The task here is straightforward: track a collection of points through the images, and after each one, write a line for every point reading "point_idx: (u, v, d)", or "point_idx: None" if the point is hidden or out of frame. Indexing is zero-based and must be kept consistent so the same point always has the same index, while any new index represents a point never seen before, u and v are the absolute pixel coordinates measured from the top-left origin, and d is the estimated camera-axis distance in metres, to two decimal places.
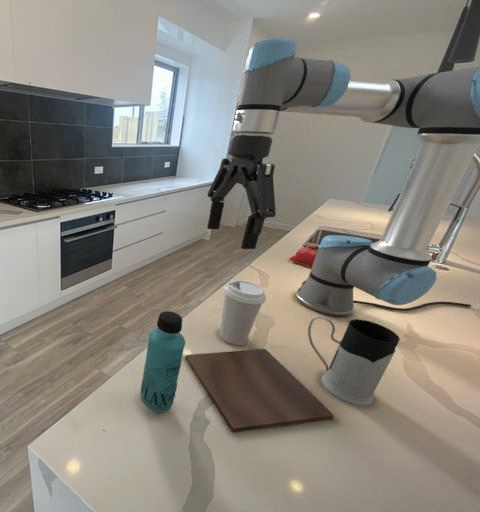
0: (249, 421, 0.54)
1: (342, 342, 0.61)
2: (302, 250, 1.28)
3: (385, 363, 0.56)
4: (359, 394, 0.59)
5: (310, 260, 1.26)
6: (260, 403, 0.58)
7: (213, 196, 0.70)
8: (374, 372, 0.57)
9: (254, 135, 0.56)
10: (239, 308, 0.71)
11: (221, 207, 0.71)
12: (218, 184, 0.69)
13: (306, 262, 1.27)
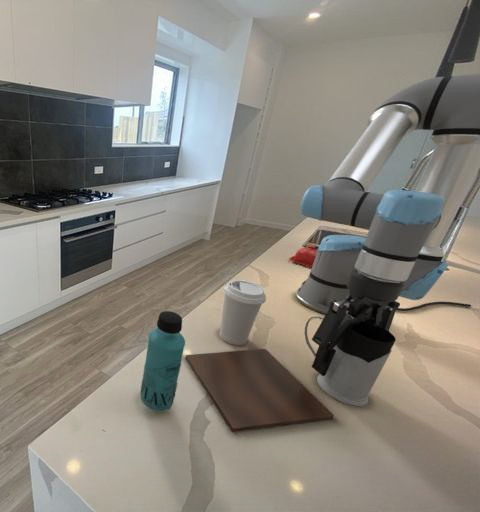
0: (249, 421, 0.54)
1: None
2: (302, 250, 1.28)
3: (381, 363, 0.56)
4: (354, 394, 0.59)
5: (310, 260, 1.26)
6: (260, 403, 0.58)
7: None
8: (370, 372, 0.57)
9: (358, 272, 0.57)
10: (239, 308, 0.71)
11: None
12: None
13: (306, 262, 1.27)
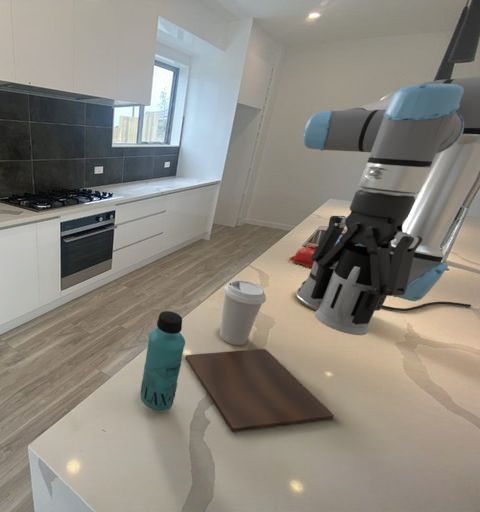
0: (249, 421, 0.54)
1: (367, 281, 0.53)
2: (302, 250, 1.28)
3: None
4: None
5: (310, 260, 1.26)
6: (260, 403, 0.58)
7: (322, 262, 0.59)
8: None
9: (396, 195, 0.47)
10: (239, 308, 0.71)
11: (331, 275, 0.60)
12: (327, 246, 0.59)
13: (306, 262, 1.27)
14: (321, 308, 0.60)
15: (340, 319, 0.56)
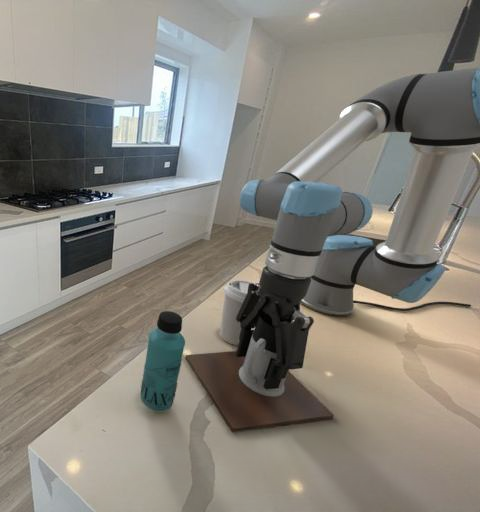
0: (249, 421, 0.54)
1: (275, 349, 0.56)
2: None
3: None
4: None
5: None
6: (260, 403, 0.58)
7: (243, 324, 0.63)
8: None
9: (292, 278, 0.50)
10: (239, 308, 0.71)
11: None
12: (247, 309, 0.63)
13: None
14: (243, 367, 0.64)
15: (256, 381, 0.60)
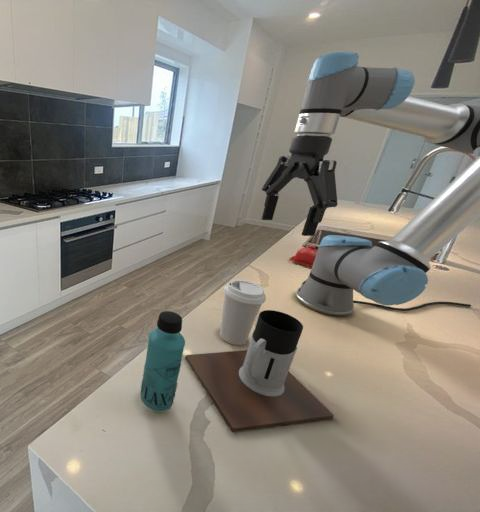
0: (249, 421, 0.54)
1: (275, 349, 0.56)
2: (302, 250, 1.28)
3: None
4: None
5: (310, 260, 1.26)
6: (260, 403, 0.58)
7: (269, 190, 0.78)
8: None
9: (317, 135, 0.64)
10: (239, 308, 0.71)
11: (275, 200, 0.79)
12: (273, 179, 0.77)
13: (306, 262, 1.27)
14: (243, 367, 0.64)
15: (256, 381, 0.60)
